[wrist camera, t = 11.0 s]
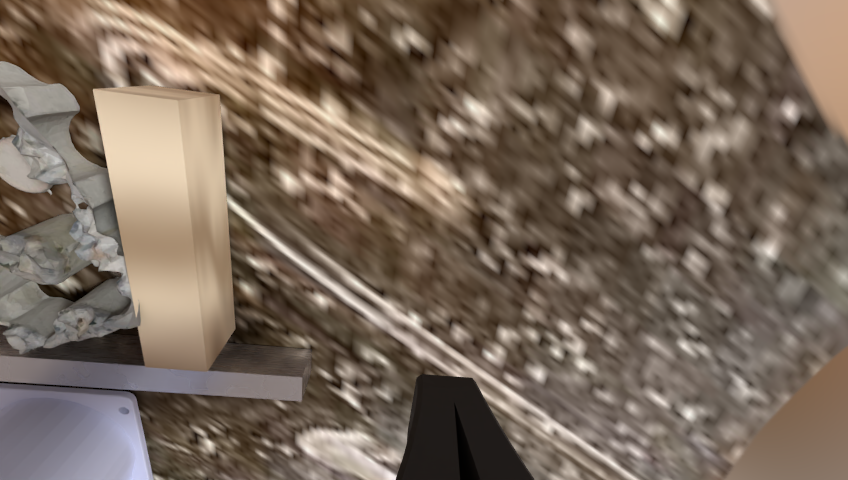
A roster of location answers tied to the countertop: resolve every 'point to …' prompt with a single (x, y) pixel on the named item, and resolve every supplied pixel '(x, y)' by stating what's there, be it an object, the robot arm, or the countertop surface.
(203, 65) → the countertop surface
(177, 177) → the block
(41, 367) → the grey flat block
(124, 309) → the egg carton
